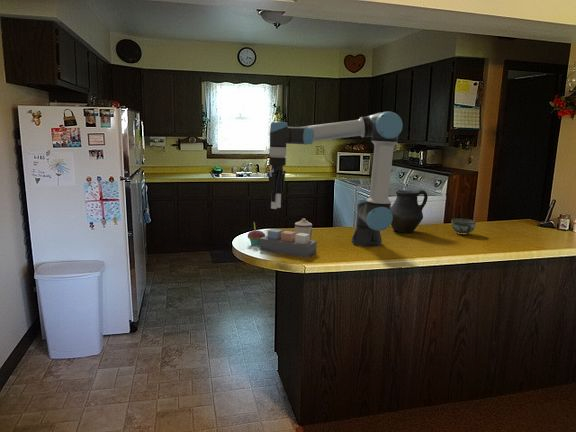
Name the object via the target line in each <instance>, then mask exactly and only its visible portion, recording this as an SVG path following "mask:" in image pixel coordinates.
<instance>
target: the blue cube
mask: <svg viewBox="0 0 576 432" xmlns="http://www.w3.org/2000/svg"><path fill="white" fill-rule="evenodd" d="M282 232H283V229H277V228H272V229H268V230H267V236H268V239H273V240H279V239H281V233H282Z"/></svg>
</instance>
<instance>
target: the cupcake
mask: <svg viewBox="0 0 576 432" xmlns="http://www.w3.org/2000/svg"><path fill="white" fill-rule="evenodd" d="M253 229H254V230H251V231H249V233H248V234H247V238H248V239H249V242H250V244H251V246H252V247H260V238H263V237H265V236H266V233H264V232H263V231H262V230H258V229H257V228H256V222H255V221H253Z"/></svg>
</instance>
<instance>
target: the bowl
mask: <svg viewBox="0 0 576 432" xmlns="http://www.w3.org/2000/svg"><path fill="white" fill-rule="evenodd" d="M476 223H477V221H476V220H473V219H468V218H460V217H459V218H458V217H457V218H456V217H455V218H452V219H451V227H452V229H453V230H454V231H455V232H456V233H457V232H459V233H468V234H470V233H472V232H473V231H474V229H475V227H476Z"/></svg>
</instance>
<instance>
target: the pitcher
mask: <svg viewBox="0 0 576 432" xmlns="http://www.w3.org/2000/svg"><path fill="white" fill-rule="evenodd" d="M395 194H396V198H395V200H394V202H393V204H391V208H390V211H391V213H392V216H393V219H392V223H391V225H390V226H391V228H392V229H393V231H395V232H400V233H410V234H412V233H413V232H414V231H416V229H417V227H418V226H419V225H420V224H421V222H422V221H423V219H424V215H423V214H424V213H423V209H424V208H425V206H426V205H427V202H428V192H426V191H425V190H423V189H417V190H412V189H411V190H408V189H407V190H401V189H399V190H398V189H397V190H395ZM419 195H423V200H422V203H421V204H419V203H418V202H419V201H418V196H419Z"/></svg>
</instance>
